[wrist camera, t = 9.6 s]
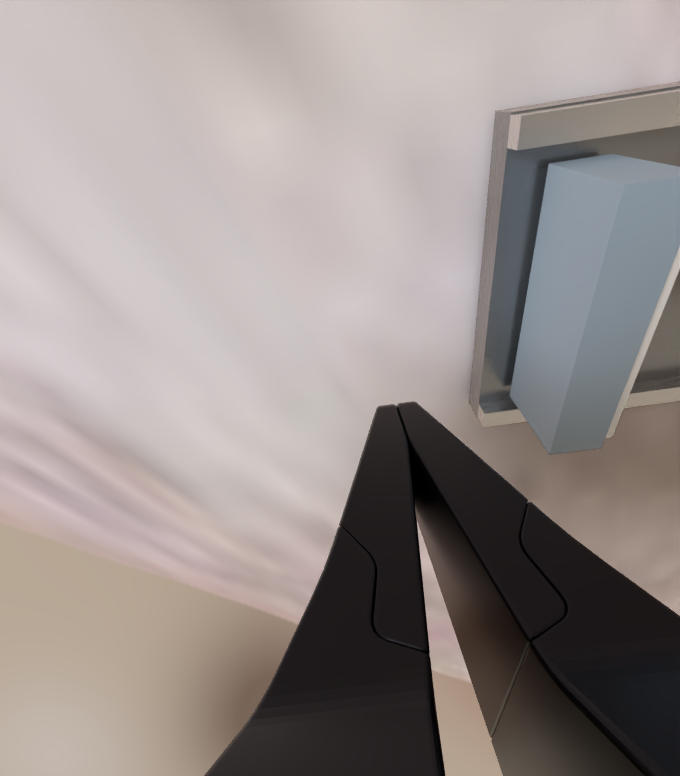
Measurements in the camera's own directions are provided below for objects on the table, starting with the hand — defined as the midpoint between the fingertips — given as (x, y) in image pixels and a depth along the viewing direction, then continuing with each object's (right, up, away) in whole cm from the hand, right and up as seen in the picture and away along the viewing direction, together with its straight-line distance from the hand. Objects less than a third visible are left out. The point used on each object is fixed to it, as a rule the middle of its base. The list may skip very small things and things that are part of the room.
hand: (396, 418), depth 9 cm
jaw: (+6, +4, +4) cm, 7 cm away
